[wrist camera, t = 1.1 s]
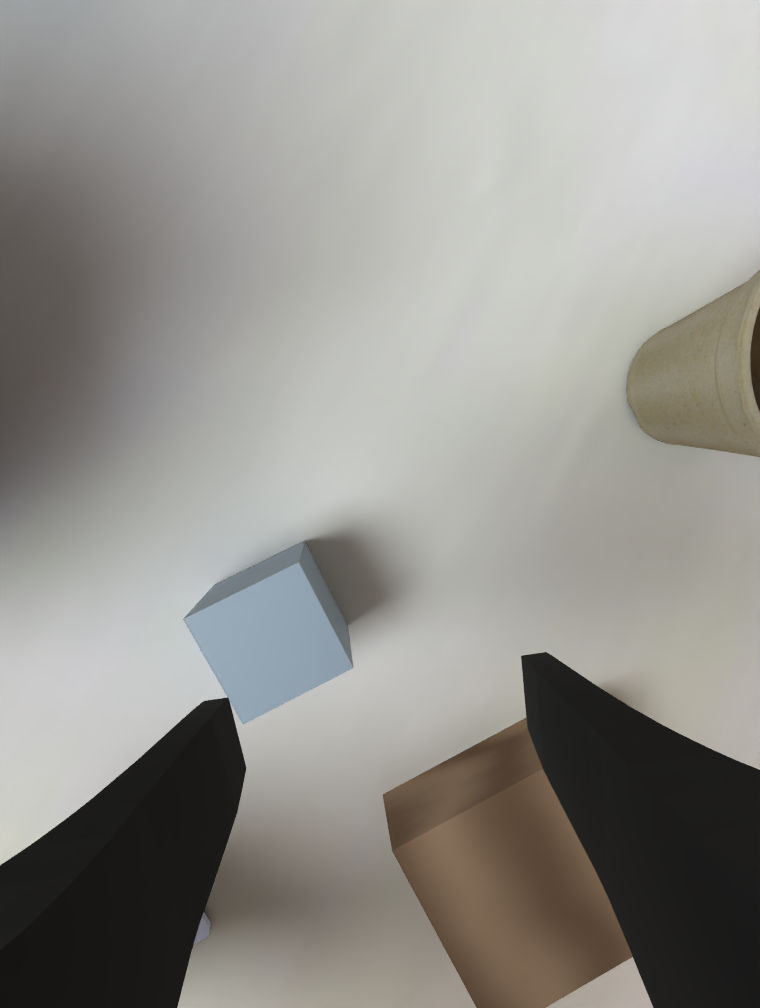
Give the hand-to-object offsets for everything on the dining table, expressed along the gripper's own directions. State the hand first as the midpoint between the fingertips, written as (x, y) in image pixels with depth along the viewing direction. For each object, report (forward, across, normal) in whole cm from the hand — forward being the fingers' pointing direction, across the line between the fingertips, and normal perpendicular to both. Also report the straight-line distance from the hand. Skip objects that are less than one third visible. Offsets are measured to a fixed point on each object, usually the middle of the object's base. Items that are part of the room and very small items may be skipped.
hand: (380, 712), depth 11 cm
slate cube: (+12, +5, +2) cm, 13 cm away
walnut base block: (+12, -6, +18) cm, 22 cm away
